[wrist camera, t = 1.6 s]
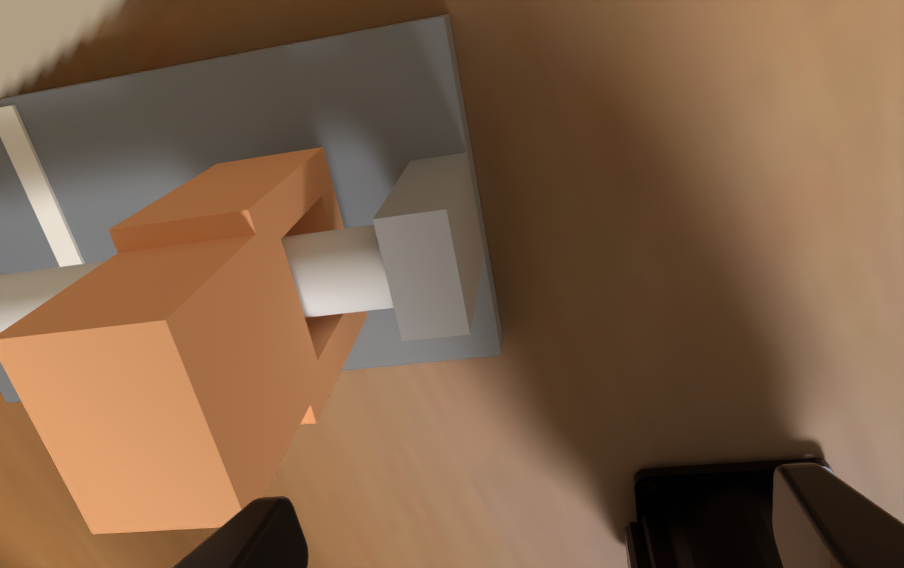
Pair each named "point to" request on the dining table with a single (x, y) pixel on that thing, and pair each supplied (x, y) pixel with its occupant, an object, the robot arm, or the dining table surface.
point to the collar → (186, 350)
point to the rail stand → (262, 134)
